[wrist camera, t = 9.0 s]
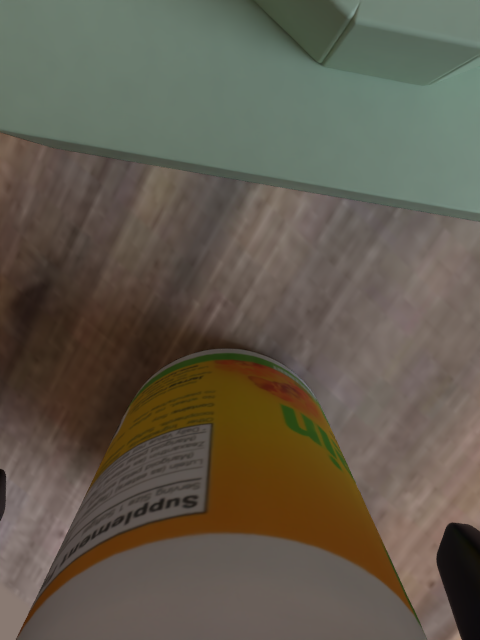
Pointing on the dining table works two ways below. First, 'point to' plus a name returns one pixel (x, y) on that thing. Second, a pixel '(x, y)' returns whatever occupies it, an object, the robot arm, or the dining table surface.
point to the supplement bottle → (223, 521)
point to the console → (258, 91)
